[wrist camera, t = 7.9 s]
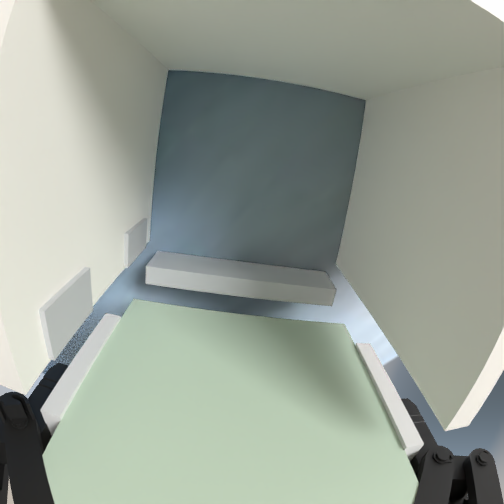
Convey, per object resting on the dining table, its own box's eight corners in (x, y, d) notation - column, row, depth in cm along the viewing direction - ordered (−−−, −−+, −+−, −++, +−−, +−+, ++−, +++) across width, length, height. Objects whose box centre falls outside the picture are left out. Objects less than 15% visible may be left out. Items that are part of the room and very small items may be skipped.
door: (135, 352, 17) (53, 564, 4) (133, 298, 16) (8, 530, 3) (327, 373, 17) (389, 584, 5) (344, 323, 16) (446, 554, 4)
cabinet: (134, 323, 20) (54, 489, 8) (154, 53, 15) (15, -64, 2) (328, 346, 21) (389, 516, 9) (383, 89, 16) (568, 46, 3)
